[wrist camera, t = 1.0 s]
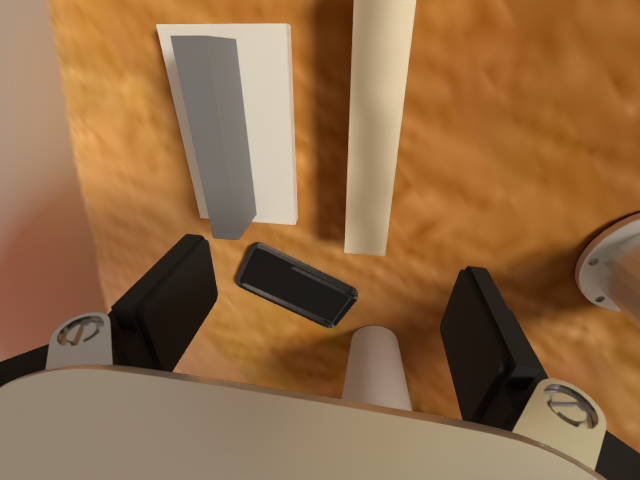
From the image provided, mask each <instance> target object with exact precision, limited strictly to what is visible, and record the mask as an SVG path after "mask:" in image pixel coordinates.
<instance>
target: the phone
mask: <svg viewBox="0 0 640 480" xmlns="http://www.w3.org/2000/svg"><path fill="white" fill-rule="evenodd" d="M236 284H237V285H238V286H239V287H241V288H243V289H245V290H247V291H249V292H251V293H253V294H255V295H258V296H260V297H262V298H264V299H266V300H268V301H270V302H273V303H275V304H277V305H279V306H281V307H283V308H286V309H288V310H290V311H292V312H294V313H296V314H298V315H301V316H303V317H305V318H307V319H309V320H311V321H313V322H316V323H318V324H320V325H322V326H324V327H327V328H333V327H335V326H336V325H337V324H338V323H339V321H340V320H341V319H342V318H343V317H344V315H345V314H346V313H347V312H348V310H349V309H350V308H351V307H352V305H353V304H354V303H355V302H356V300H357V297H358V292H357V290H356V289H355V288H354V287H352V286H350V285H348V284H345V283H343V282H341V281H339V280H337V279H335V278H333V277H331V276H329V275H327V274H325V273H323V272H321V271H319V270H317V269H315V268H313V267H311V266H309V265H307V264H305V263H303V262H301V261H299V260H297V259H295V258H292V257H290V256H288V255H286V254H284V253H282V252H280V251H278V250H276V249H274V248H272V247H270V246H268V245H266V244H264V243H261V242H255V243H253V244H252V246H251V247H250V249H249V251H248V253H247V255H246V258H245V260H244V262H243V264H242V266H241V269H240V271H239V273H238V275H237V277H236Z"/></svg>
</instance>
